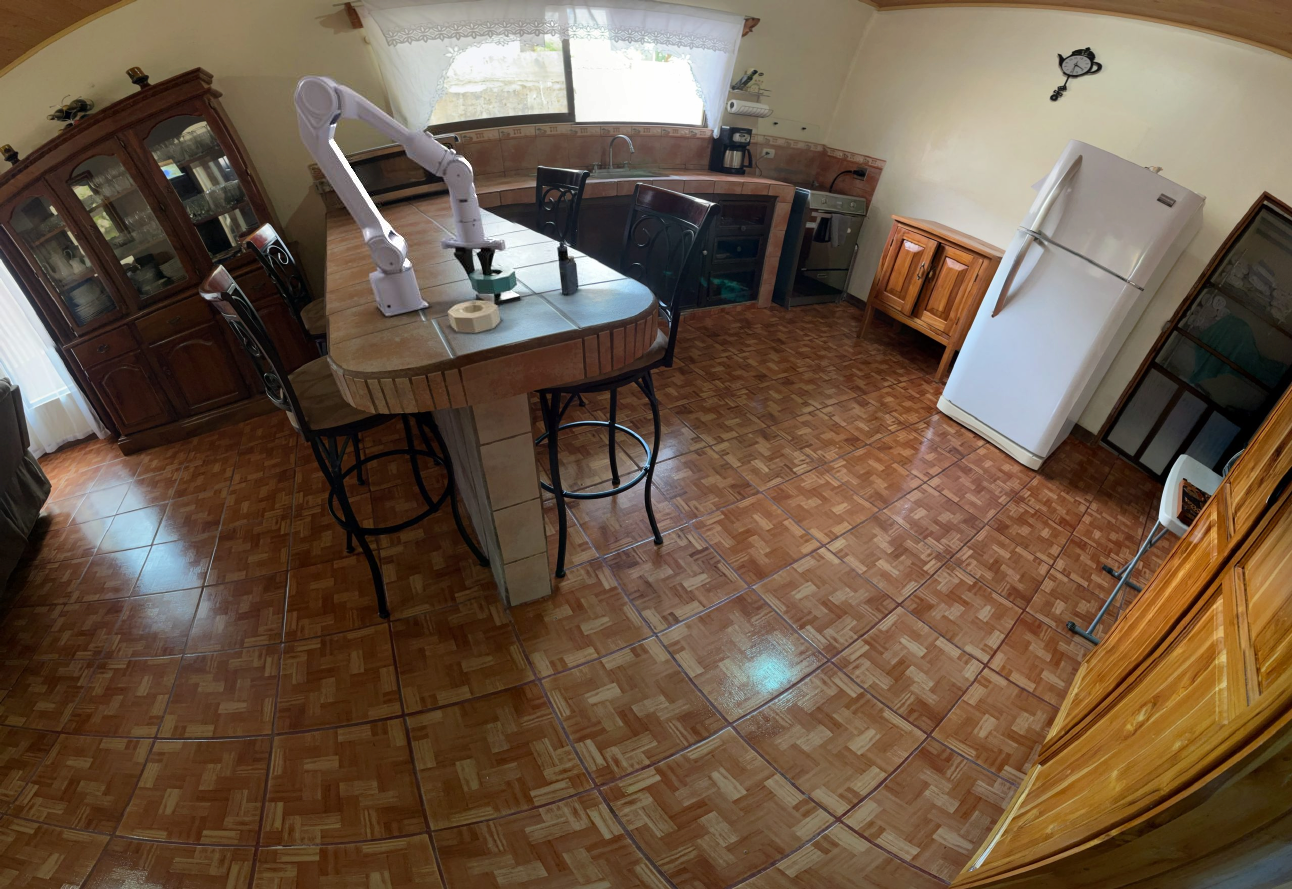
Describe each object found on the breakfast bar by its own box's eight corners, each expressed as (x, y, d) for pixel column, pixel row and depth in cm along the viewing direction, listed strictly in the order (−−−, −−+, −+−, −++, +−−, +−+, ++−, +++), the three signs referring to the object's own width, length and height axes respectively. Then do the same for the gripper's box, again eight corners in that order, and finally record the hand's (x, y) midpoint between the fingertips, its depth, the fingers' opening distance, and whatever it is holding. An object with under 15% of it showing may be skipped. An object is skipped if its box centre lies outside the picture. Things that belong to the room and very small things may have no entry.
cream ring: (462, 336, 105) (458, 321, 103) (446, 322, 111) (442, 307, 109) (505, 325, 109) (502, 309, 107) (488, 311, 116) (485, 297, 113)
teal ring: (483, 297, 115) (480, 282, 113) (468, 285, 121) (464, 271, 119) (522, 287, 119) (519, 273, 117) (505, 277, 126) (502, 263, 124)
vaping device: (559, 294, 124) (553, 243, 117) (572, 287, 127) (566, 238, 120) (568, 296, 123) (563, 245, 116) (580, 289, 126) (575, 239, 119)
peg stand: (489, 307, 117) (484, 282, 114) (476, 298, 123) (470, 273, 119) (520, 299, 121) (516, 274, 118) (506, 290, 126) (502, 266, 123)
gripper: (505, 215, 114) (515, 275, 122) (445, 214, 116) (459, 274, 124) (493, 223, 108) (505, 285, 117) (430, 222, 110) (446, 283, 118)
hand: (480, 280), depth 120 cm, fingers closed on teal ring, 3 cm apart
